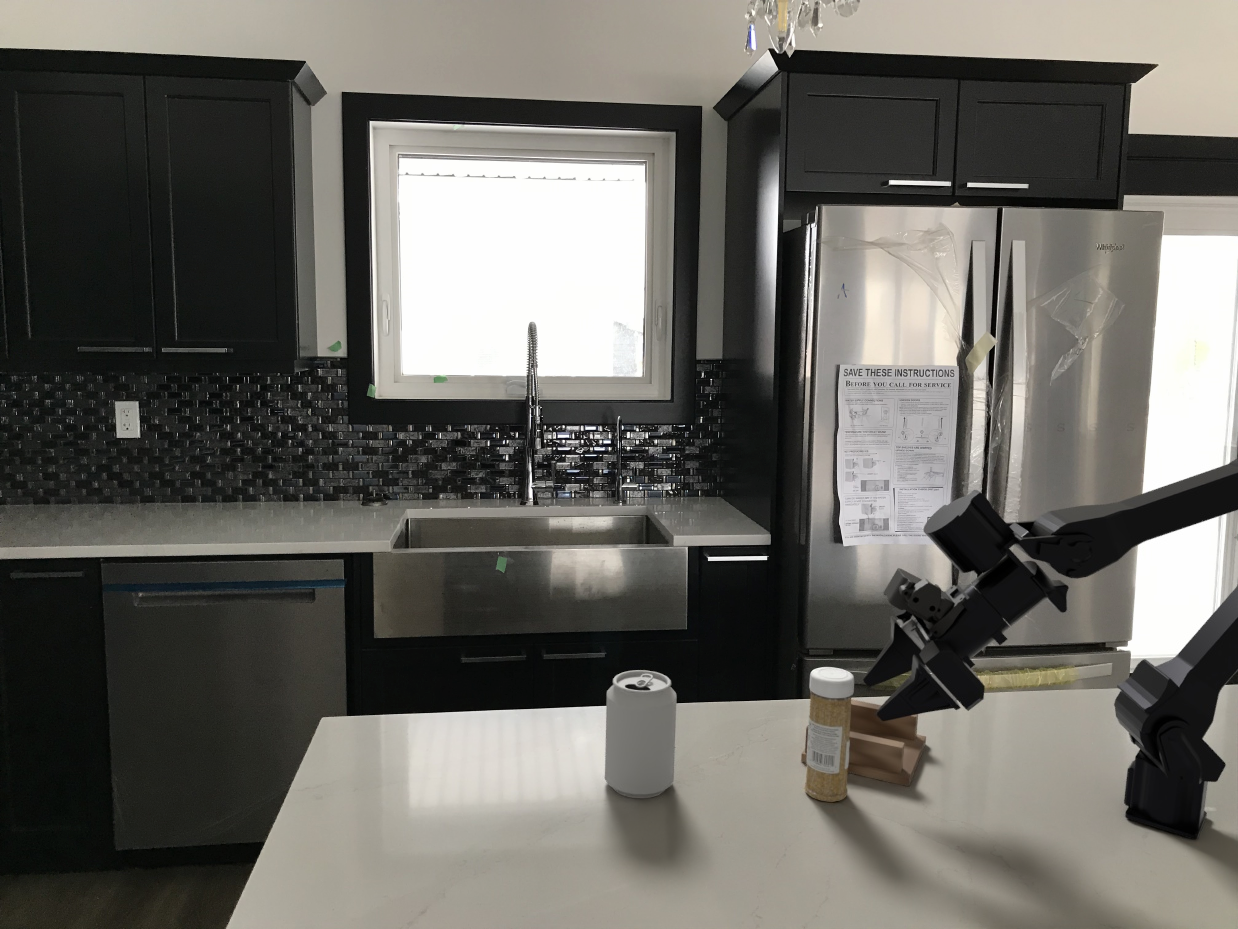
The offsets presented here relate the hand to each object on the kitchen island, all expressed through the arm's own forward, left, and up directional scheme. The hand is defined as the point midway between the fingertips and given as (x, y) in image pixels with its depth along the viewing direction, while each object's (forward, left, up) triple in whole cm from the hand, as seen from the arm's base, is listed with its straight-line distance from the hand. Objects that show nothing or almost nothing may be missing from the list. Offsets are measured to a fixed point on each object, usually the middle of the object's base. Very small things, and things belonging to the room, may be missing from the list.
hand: (871, 699), depth 99 cm
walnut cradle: (+5, -10, -11) cm, 15 cm away
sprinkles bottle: (+4, +2, -11) cm, 12 cm away
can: (+20, +14, -11) cm, 27 cm away
